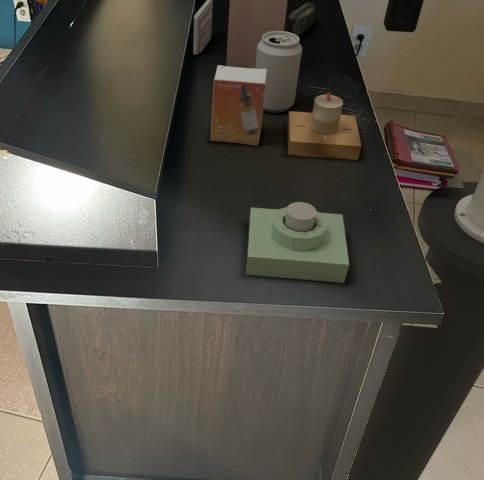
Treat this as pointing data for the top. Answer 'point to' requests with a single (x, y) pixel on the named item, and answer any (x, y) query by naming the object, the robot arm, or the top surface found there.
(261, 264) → the green push button box
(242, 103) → the small box
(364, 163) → the top surface
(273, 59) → the can
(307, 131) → the panel
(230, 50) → the greeting card
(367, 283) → the top surface
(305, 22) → the dark ridged elongated shape
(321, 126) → the dial
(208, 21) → the cassette
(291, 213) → the button
